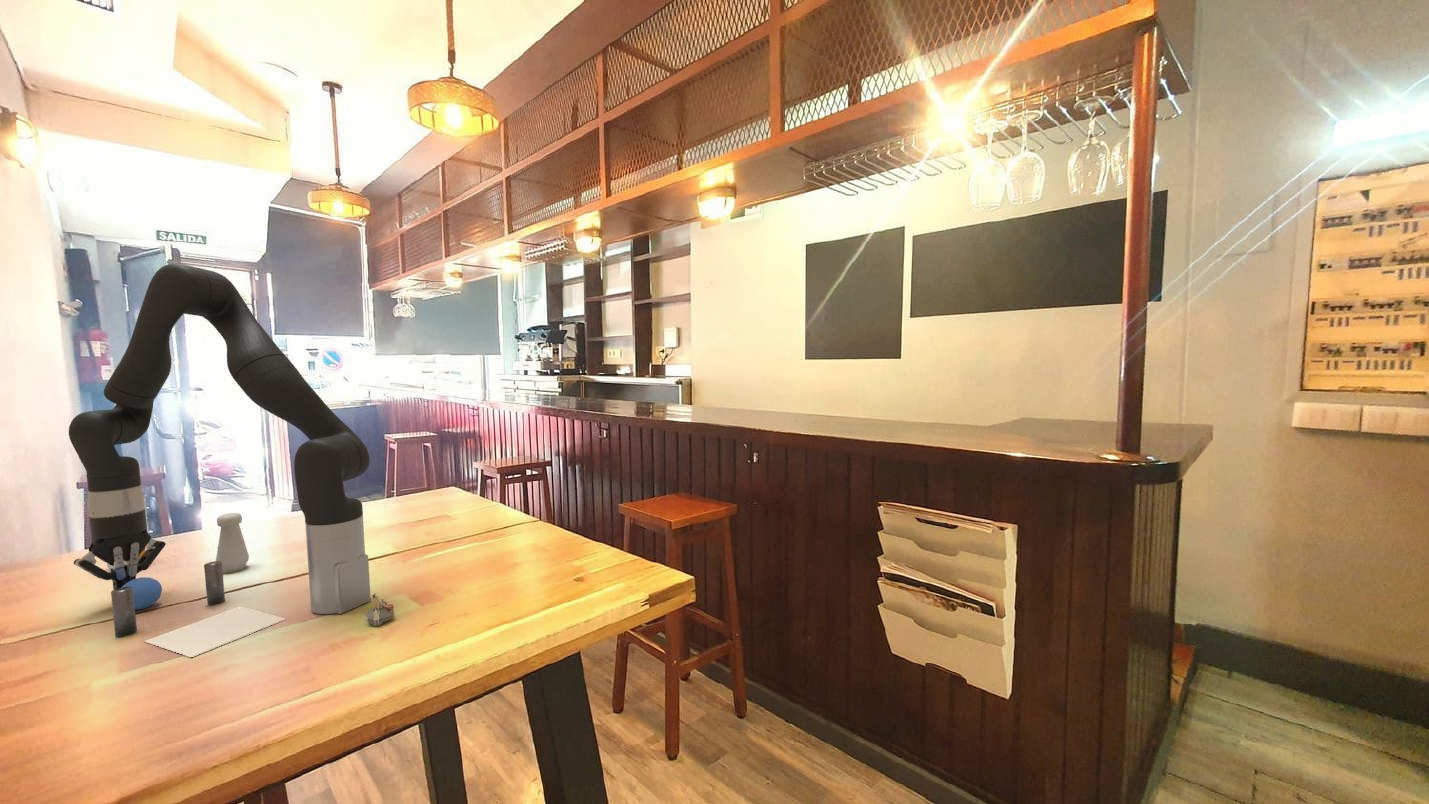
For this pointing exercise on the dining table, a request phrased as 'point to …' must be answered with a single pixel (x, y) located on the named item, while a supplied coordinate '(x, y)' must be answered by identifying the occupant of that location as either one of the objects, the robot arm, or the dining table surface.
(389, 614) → the figurine
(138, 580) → the ball
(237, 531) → the salt shaker
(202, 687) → the dining table surface
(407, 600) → the dining table surface
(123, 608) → the left post
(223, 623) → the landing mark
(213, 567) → the right post
